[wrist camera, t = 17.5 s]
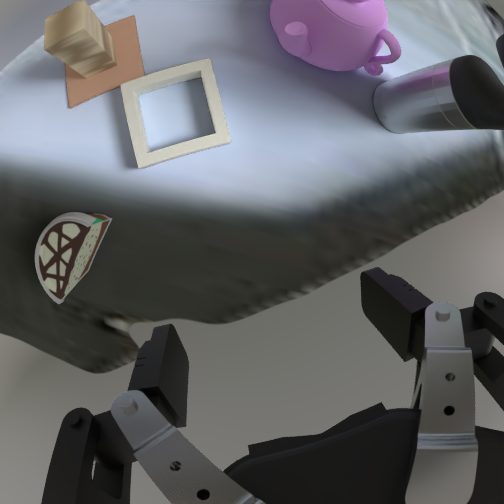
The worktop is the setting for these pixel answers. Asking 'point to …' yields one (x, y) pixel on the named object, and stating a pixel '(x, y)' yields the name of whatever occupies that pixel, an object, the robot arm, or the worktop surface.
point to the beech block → (80, 40)
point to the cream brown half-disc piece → (68, 251)
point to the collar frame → (163, 80)
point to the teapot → (335, 33)
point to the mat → (115, 76)
